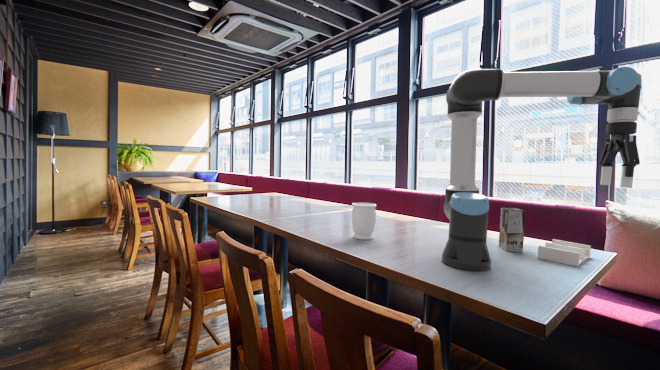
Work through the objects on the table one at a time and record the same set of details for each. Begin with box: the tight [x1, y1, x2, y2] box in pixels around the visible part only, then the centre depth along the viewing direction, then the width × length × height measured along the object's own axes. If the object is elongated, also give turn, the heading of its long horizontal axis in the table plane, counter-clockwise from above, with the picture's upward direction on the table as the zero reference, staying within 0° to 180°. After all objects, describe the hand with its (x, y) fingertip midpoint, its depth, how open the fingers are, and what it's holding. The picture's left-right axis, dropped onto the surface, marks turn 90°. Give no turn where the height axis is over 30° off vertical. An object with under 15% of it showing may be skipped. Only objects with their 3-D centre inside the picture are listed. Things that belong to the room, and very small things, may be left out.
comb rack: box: [537, 238, 592, 267], centre depth 118 cm, size 12×18×4 cm
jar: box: [351, 201, 378, 241], centre depth 140 cm, size 11×10×15 cm
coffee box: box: [498, 207, 527, 253], centre depth 129 cm, size 9×6×16 cm
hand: (615, 186), depth 108 cm, fingers open, 13 cm apart
